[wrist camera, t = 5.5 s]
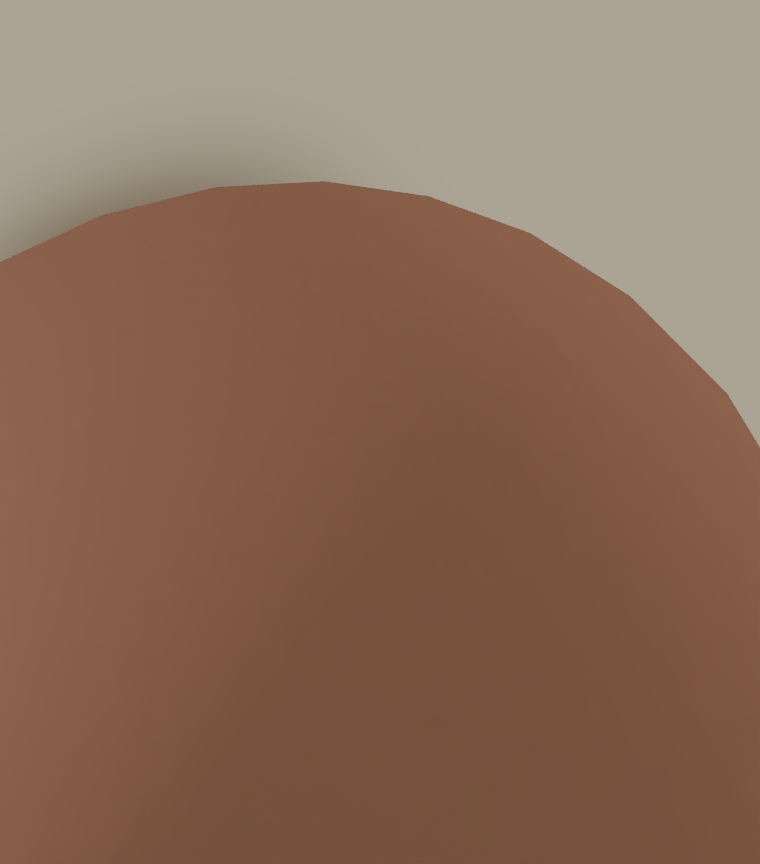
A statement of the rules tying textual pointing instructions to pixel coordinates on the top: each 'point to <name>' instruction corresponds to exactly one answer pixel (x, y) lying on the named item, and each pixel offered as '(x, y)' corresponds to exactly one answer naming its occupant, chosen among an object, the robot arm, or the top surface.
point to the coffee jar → (364, 548)
